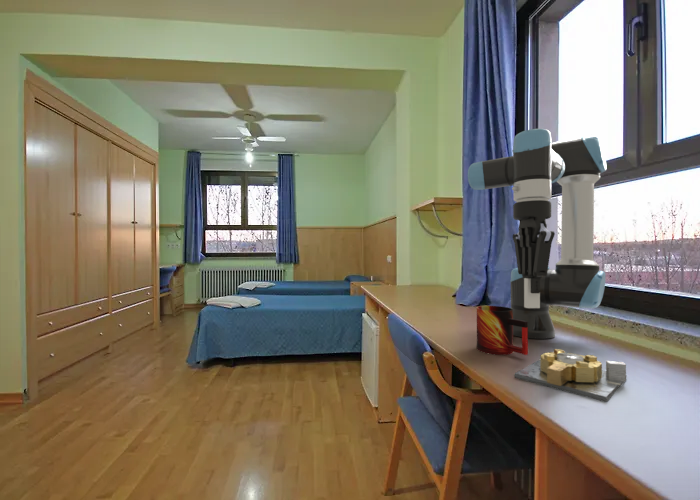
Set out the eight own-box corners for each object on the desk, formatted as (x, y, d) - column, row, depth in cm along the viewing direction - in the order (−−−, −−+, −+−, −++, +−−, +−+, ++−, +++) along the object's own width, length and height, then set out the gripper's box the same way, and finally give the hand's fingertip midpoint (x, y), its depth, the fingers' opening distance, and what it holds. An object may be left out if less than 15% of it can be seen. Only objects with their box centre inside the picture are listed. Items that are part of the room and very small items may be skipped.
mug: (527, 359, 91) (527, 314, 91) (473, 351, 99) (473, 309, 99) (531, 350, 99) (531, 308, 99) (481, 343, 107) (480, 304, 107)
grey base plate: (543, 361, 90) (543, 342, 90) (630, 380, 76) (630, 357, 76) (514, 377, 78) (514, 355, 78) (611, 403, 65) (611, 376, 65)
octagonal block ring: (551, 361, 85) (551, 346, 85) (606, 373, 77) (606, 356, 77) (525, 377, 75) (525, 359, 75) (585, 392, 67) (585, 372, 67)
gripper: (501, 205, 84) (501, 303, 84) (531, 196, 71) (531, 312, 71) (532, 205, 84) (532, 303, 84) (567, 197, 71) (567, 312, 71)
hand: (531, 307), depth 77 cm, fingers closed
